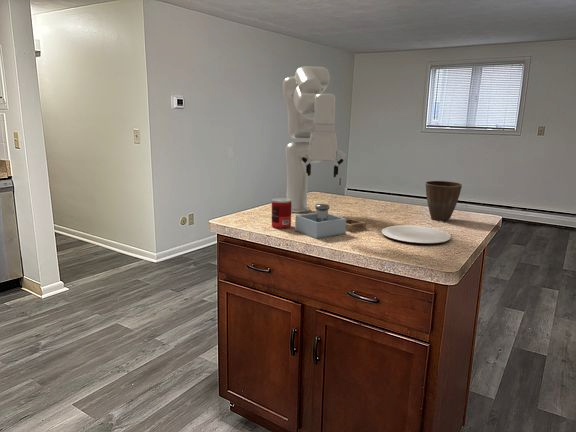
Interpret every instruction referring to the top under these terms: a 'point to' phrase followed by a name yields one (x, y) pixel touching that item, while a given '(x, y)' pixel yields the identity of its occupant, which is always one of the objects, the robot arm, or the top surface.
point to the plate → (416, 234)
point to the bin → (320, 226)
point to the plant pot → (442, 198)
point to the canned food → (281, 213)
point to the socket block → (354, 225)
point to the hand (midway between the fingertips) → (321, 176)
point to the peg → (321, 212)
